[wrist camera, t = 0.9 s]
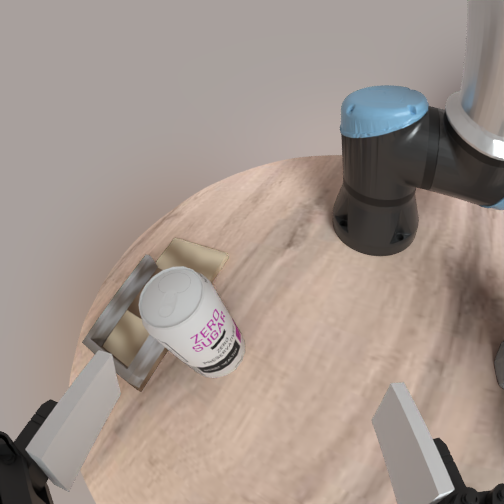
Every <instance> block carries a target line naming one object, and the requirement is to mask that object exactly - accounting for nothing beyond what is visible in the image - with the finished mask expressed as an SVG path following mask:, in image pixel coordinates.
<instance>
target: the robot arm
mask: <svg viewBox="0 0 504 504" xmlns="http://www.w3.org/2000/svg"><path fill="white" fill-rule="evenodd" d="M467 1H468V14H467V38H466V50H465V51H466V52H465V60H464V69H463V76H462V84H461V89H460V91H458V92H455V93H453V94H452V95H450V96H449V98H448V100H447V102H446V106H445V110H444V109H439V108H434V107H430V106H429V105H428V102H427V99H426V97H425V96H424V95H423V94H422V93H420V92H418V91H416V90H410V89H409V88H407V87H401V86H373V87H368V88H364V89H360V90H357V91H355V92H353V93H351V94H350V95H348V96H347V97H346V98H345V100H344V101H343V103H342V106H341V125H340V131H341V135H342V156H343V184H342V187H341V189H340V192H339V194H338V197H337V199H336V202H335V204H334V208H333V226H334V229H335V231H336V233H337V235H338V236H339V238H340V239H341V240H342V241H343V242H344V243H345V244H346V245H348V246H349V247H351V248H352V249H354V250H356V251H358V252H361V253H364V254H368V255H374V256H387V255H393V254H396V253H399V252H401V251H403V250H404V249H406V248H407V247H408V246H409V245H410V244H411V243H412V242H413V240H414V238H415V235H416V232H417V228H418V221H419V219H418V211H417V204H416V198H415V190H416V187H417V188H422V189H426V190H430V191H433V192H437V193H441V194H444V195H448V196H451V197H454V198H458V199H461V200H464V201H467V202H470V203H474V204H477V205H479V206H481V207H484V208H493V209H497V210H504V0H467ZM120 395H121V392H120V388H119V384H118V380H117V375H116V371H115V366H114V361H113V356H112V354H111V353H107V352H104V351H100V350H98V351H97V353H96V354H95V355H94V356H93V358H92V359H91V360H90V361H89V363H88V364H87V365H86V367H85V368H84V369H83V370H82V372H81V373H80V374H79V376H78V377H77V378H76V379H75V381H74V382H73V383H72V385H71V386H70V387H69V389H68V390H67V391H66V393H65V394H64V395H63V397H62V398H61V399H60V401H59V402H55V401H53V400H49V401H47V402H45V403H44V404H42V405H41V406H40V408H39V409H38V410H37V412H36V414H34V416H33V417H32V418H31V421H29V422H28V424H27V425H26V426H25V428H24V429H23V430H22V432H21V433H20V435H19V436H18V437H17V439H16V441H14V442H13V441H12V440H11V439H10V437H9V436H8V435H7V434H6V433H4V432H1V431H0V504H53V501H52V497H51V494H50V491H49V488H48V485H47V483H46V482H47V480H48V478H49V479H50V480H51V481H52V483H53V484H54V485H56V486H59V487H60V488H62V489H64V490H66V491H68V492H69V491H70V489H71V487H72V485H73V483H74V481H75V479H76V477H77V475H78V473H79V471H80V469H81V467H82V465H83V463H84V461H85V459H86V457H87V455H88V454H89V452H90V450H91V448H92V446H93V444H94V442H95V440H96V438H97V437H98V435H99V433H100V431H101V429H102V427H103V425H104V424H105V422H106V420H107V418H108V416H109V415H110V413H111V411H112V409H113V407H114V405H115V404H116V402H117V400H118V398H119V397H120ZM372 423H373V426H374V429H375V432H376V435H377V438H378V441H379V444H380V447H381V450H382V453H383V457H384V460H385V463H386V466H387V469H388V473H389V476H390V479H391V483H392V486H393V490H394V493H395V497H396V500H397V504H504V484H503V483H502V484H499V485H497V486H496V487H495V488H494V489H492V490H491V491H483V492H477V491H476V490H475V489H473V488H470V487H466V486H465V484H464V482H463V480H462V477H461V475H460V473H459V471H458V468H457V466H456V464H455V462H453V458H452V456H451V455H450V452H449V449H448V447H447V445H446V444H445V443H444V442H443V441H442V440H441V439H440V438H436V439H432V437H431V435H430V433H429V431H428V429H427V427H426V425H425V423H424V420H423V418H422V416H421V414H420V412H419V411H418V409H417V407H416V405H415V403H414V401H413V399H412V397H411V395H410V393H409V391H408V389H407V387H406V386H405V384H404V382H402V383H391V384H390V386H389V388H388V390H387V392H386V394H385V396H384V398H383V400H382V402H381V404H380V405H379V407H378V409H377V411H376V413H375V415H374V416H373V418H372Z"/></svg>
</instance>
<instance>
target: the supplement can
mask: <svg viewBox="0 0 504 504" xmlns="http://www.w3.org/2000/svg"><path fill="white" fill-rule="evenodd" d="M139 311H140V315H141V318H142V323H143V326H144V327H145V329H146V330H147V331H148V333H149V334H150V335H151V336H152V337H153V338H154V339H156V340H157V341H158V342H159V343H160V344H162V345H163V346H164V347H165V348H166V349H168V350H169V351H170V352H171V353H173V354H174V355H175V356H176V357H178V358H179V359H180V360H181V361H183V362H184V363H185V364H186V365H188V366H189V367H190V368H192V369H193V370H194V371H196V372H197V373H199V374H201V375H203V376H205V377H210V378H218V377H222V376H226V375H228V374H229V373H231V372H233V371H234V370H236V368H237V367H238V366H239V364H240V363H241V362H242V360H243V357H244V354H245V341H244V339H243V336H242V334H241V332H240V331H239V329H238V327H237V326H236V324H235V322H234V321H233V319H232V317H231V316H230V314H229V312H228V311H227V309H226V307H225V306H224V304H223V302H222V301H221V299H220V297H219V296H218V294H217V292H216V290H215V289H214V287H213V285H212V284H211V282H210V281H209V280H208V279H207V278H206V277H205V276H204V275H203V274H201V273H198V272H195V271H194V270H193V269H190V268H187V267H184V266H181V267H171V268H168V269H165V270H162V271H161V272H159V273H158V274H156V275H155V276H153V277H152V278H151V279H150V280H149V282H148V283H147V284H146V285H145V287H144V289H143V290H142V292H141V294H140V299H139Z"/></svg>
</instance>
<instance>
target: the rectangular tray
mask: <svg viewBox="0 0 504 504" xmlns="http://www.w3.org/2000/svg"><path fill="white" fill-rule="evenodd" d="M228 258H229V256H228V253H225V252H222V251H218V250H215V249H212V248H208V247H205V246H202V245H198V244H195V243H192V242H188V241H185V240H182V239H178V238H174V240H173V241H172V242H171V243H170V245H169V246H168V247H167V248H166V250H165V251H164V252H163V254H162V255H161V256H160V257H159V259H158V260H157V261H156V263H155V262H154V260H153V259H152V258H151V256H149V255H145V256H144V258H143V259H142V260H141V261H140V263H139V264H138V265H137V267H136V268H135V269H134V271H133V272H132V273H131V274H130V276H129V277H128V278H127V280H126V281H125V282H124V284H123V285H122V286H121V288H120V289H119V290H118V292H117V293H116V294H115V296H114V297H113V299H112V300H111V301H110V303H109V304H108V306H107V307H106V308H105V310H104V311H103V313H102V314H101V315H100V317H99V318H98V320H97V321H96V323H95V324H94V325H93V327H92V328H91V330H90V331H89V333H88V334H87V336H86V337H85V339H84V340H83V342H82V343H83V344H84V345H86V346H87V347H88V348H89V349H90V350H91V351H92V352H93V353H94V354H96V353H97V351H98V350H100V351H104V352H107V353H111V354H112V356H113V361H114V366H115V371H116V373H117V374H118V375H119V376H121V377H122V378H123V379H124V380H125V381H127V382H128V383H129V384H130V385H132V386H133V387H134V388H136V389H137V390H139V391H142V390H143V388H144V387H145V385H146V383H147V382H148V380H149V379H150V377H151V376H152V374H153V372H154V371H155V369H156V368H157V366H158V365H159V363H160V362H161V360H162V358H163V357H164V355H165V354H166V352H167V351H168V349H166V348H165V347H164V346H163V345H162V344H160V343H159V342H158V341H157V340H156V339H154V338H153V337H152V336H151V335H150V334H149V333H148V331H147V330H146V329H145V327H144V326H143V323H142V318H141V315H140V311H139V299H140V294H141V292H142V290H143V289H144V287H145V285H146V284H147V283H148V282H149V280H150V279H151V278H152V277H153V276H155V275H156V274H158V273H159V272H161V271H162V270H165V269H168V268H171V267H181V266H184V267H187V268H190V269H193V270H194V271H195V272H198V273H201V274H203V275H204V276H205V277H206V278H207V279H208V280H209V281H210V282H211V283H212V282H213V280H214V279H215V277H216V276H217V274H218V273H219V271H220V270H221V268H222V267H223V265H224V264H225V262H226V261H227V259H228Z"/></svg>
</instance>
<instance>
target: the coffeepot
mask: <svg viewBox="0 0 504 504" xmlns="http://www.w3.org/2000/svg"><path fill="white" fill-rule="evenodd" d="M494 364H495V372H496V377H497V380H498V382H499V386H501V387H502V388H503V389H504V341H503V342H502V343H501V346H500V348H499V350H498V352H497V356H496V359H495V362H494Z"/></svg>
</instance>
